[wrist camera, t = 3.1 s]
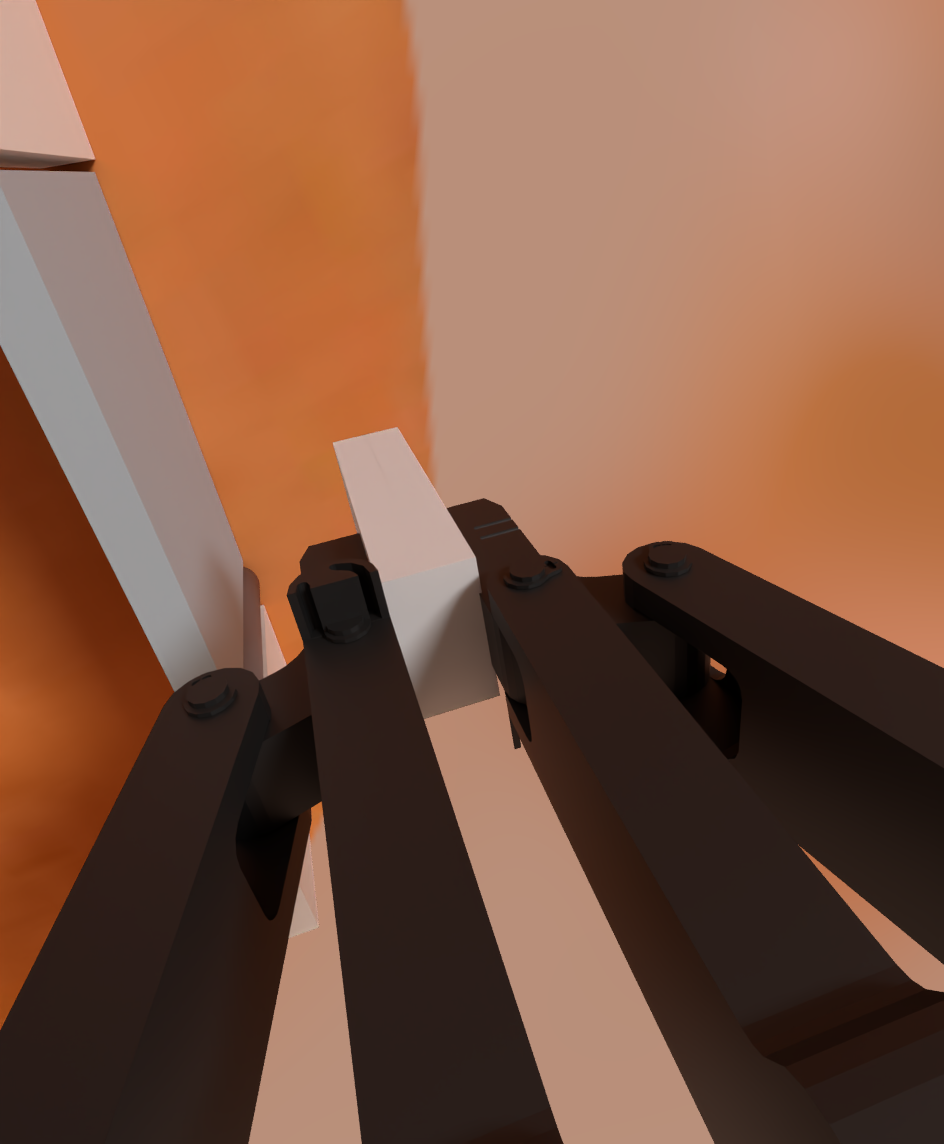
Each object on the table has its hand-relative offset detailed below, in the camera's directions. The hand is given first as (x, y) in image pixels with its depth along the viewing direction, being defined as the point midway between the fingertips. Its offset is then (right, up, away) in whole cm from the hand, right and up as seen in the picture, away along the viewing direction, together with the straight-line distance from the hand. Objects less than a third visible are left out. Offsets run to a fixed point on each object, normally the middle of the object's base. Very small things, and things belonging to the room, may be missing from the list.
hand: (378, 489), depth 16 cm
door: (-9, +3, +8) cm, 12 cm away
